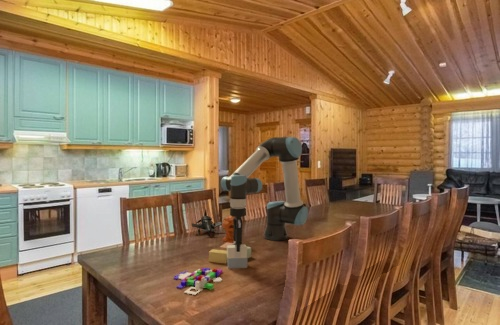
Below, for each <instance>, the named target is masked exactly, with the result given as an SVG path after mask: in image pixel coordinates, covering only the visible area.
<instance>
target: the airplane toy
mask: <svg viewBox="0 0 500 325" xmlns="http://www.w3.org/2000/svg"><path fill="white" fill-rule="evenodd" d="M207 211H208V210H207V209H205V211H204V215H203V216H202V217H201V219H199V220H197V221H196V223H194V222H193V223H191V227H193V228H195V229H196V228H197V233H198V234H200V233H201V230H202V231H203V232H204V233H205V232H206V233H208V236H211V233H215V232H217V229H215V228H218V227H219V226H222V225H223V222H222V221H218V222H213V221H212V220H213V218H212V216H209V215H208V214H207Z"/></svg>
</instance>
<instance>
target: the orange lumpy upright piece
mask: <svg viewBox="0 0 500 325" xmlns="http://www.w3.org/2000/svg"><path fill="white" fill-rule="evenodd" d="M233 218H235V217H233V216H231V215H229V216H227V217H225V218H224V219H223V220H222V225H221V226H222V230H224V231H225V232H226V233H225V236H224V237H223V238H222V243H221V244H225V243H226V242H228V243H234V240H233V239H234V238H233Z"/></svg>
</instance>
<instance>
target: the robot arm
mask: <svg viewBox="0 0 500 325" xmlns="http://www.w3.org/2000/svg"><path fill="white" fill-rule="evenodd" d="M302 153H303V145H302V142H301V141H300V139H299V138H297V137H295V136H294V137H293V136H277V137H270V138H268V139H267V140H264V141H263V142H262V143H260V144H259V145H258V146H257V147H256V148H255V150H254V152H253V153H252V154H251V155H250V156H249V157H248V158H247V159H245V161H243V163H242V164H241V165H240V166H239V167H238V168H237V169H235V171H234V172H233V173H232V174H231V175H229V176H228V175H227V176H223V177H222V178H221V180H220V187H221V189H222V190H223V191H227V192H230V200H228V203H229V206H230V208H229V216H233V217H235V218H233V238H234V239H233V240H234V245H235V258H241V245H243V244H242V243H243V220H242V218H243V217H245V216H246V215H247V214H246V213H247V195H249V194H257V193H260V192H261V191H262V189H263V182H262V180H261V179H260V178H258V177H257V178H256V177H251V175H252V174H253V173H254V172H255V171H256V170H257V169H258V168H259V167H260V165H262V164H263V163H264V162H265V161H268V160H269V159H271V158H272V157H273V158H274V157H276V158H278V162H280V163H281V165H282V166H281V168H282V176H283V184H284V191H285V192H284V193H285V194H284V195H285V200H277V201H276V200H275V201H269V202H267V204H266V226H265V229H264V232H263V238H264V239H266V240H270V241H284V240H287V239H288V231H287V228H286V224H289V225H294V226H303V225H304V224H305V223H306V221H307V219H308V217H309V209H308V207H307V206H305V205H304V201H303V200H302V199H301V194H300V193H301V192H300V191H301V190H300V180H299V172H298V165H297V164H298V163H297V162H298V161H299V160H300V157H301V156H302Z"/></svg>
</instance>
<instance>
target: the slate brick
mask: <svg viewBox="0 0 500 325" xmlns="http://www.w3.org/2000/svg"><path fill="white" fill-rule="evenodd" d="M226 264H227V268H228V269H247V268H248V258H231V259H227V263H226Z"/></svg>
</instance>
